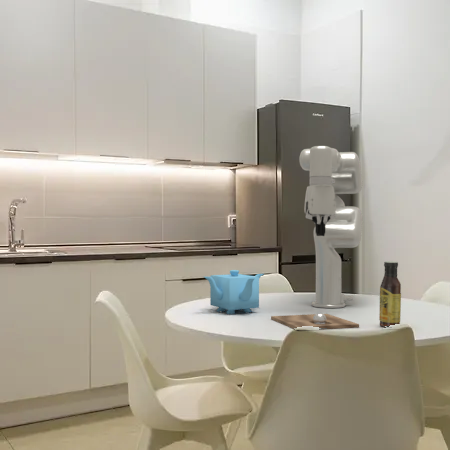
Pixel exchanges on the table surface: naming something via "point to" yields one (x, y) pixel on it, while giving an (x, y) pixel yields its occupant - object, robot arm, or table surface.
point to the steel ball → (319, 318)
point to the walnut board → (307, 320)
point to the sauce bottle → (390, 296)
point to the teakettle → (234, 291)
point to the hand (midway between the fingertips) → (320, 235)
